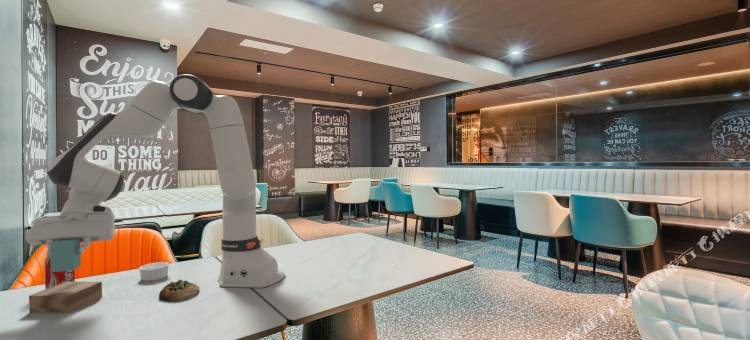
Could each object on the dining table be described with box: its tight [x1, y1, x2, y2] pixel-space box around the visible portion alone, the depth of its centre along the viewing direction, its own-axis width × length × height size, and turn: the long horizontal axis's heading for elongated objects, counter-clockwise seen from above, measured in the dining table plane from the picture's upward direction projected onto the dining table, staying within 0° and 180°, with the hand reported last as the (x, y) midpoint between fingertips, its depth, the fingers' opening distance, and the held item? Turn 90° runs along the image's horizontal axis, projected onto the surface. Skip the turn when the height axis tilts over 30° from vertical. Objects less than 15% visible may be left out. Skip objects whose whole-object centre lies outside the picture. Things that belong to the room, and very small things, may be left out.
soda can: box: [43, 255, 76, 290], centre depth 110 cm, size 7×7×12 cm
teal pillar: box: [50, 239, 82, 272], centre depth 98 cm, size 5×5×8 cm
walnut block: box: [28, 281, 103, 314], centre depth 99 cm, size 11×11×5 cm
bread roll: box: [158, 279, 200, 302], centre depth 106 cm, size 11×11×5 cm
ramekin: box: [139, 261, 170, 282], centre depth 122 cm, size 9×9×4 cm
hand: (64, 254), depth 98 cm, fingers closed on teal pillar, 5 cm apart
